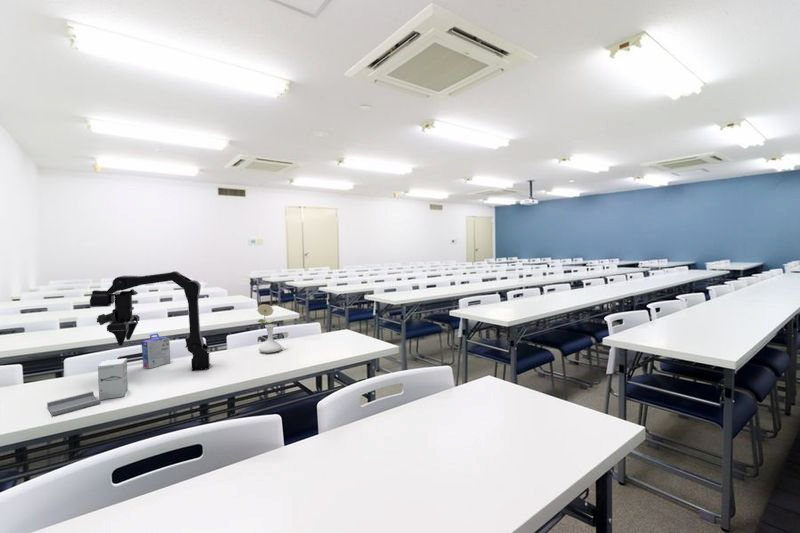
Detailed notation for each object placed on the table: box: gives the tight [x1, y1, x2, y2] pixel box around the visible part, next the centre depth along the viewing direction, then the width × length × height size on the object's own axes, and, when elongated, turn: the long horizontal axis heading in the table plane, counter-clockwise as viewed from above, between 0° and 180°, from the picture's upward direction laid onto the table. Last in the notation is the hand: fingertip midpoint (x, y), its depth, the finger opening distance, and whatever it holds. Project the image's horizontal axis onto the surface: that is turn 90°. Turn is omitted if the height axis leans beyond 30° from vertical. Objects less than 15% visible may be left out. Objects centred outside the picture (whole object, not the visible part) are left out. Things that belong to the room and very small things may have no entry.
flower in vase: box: [256, 304, 283, 354], centre depth 184 cm, size 13×11×25 cm
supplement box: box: [97, 357, 129, 401], centre depth 130 cm, size 7×7×13 cm
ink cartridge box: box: [141, 332, 171, 370], centre depth 163 cm, size 10×6×14 cm, turn 153°
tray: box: [46, 390, 101, 417], centre depth 121 cm, size 12×11×2 cm
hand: (124, 342), depth 148 cm, fingers open, 9 cm apart
